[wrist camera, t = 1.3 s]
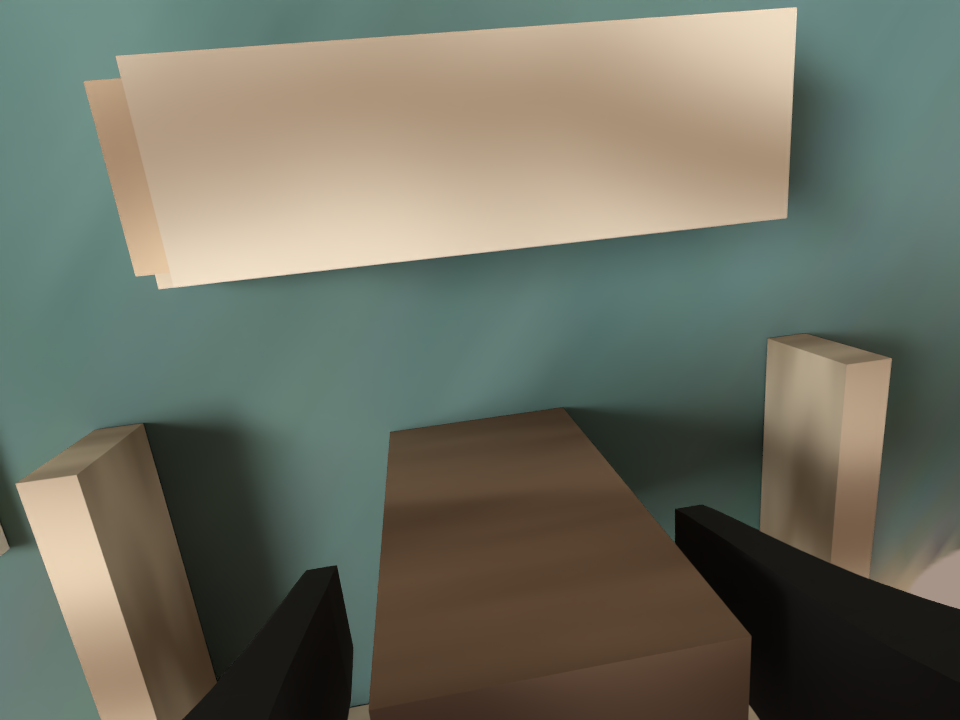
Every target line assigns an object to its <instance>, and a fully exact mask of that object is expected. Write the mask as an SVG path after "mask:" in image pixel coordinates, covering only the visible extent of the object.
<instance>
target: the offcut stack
mask: <svg viewBox="0 0 960 720" xmlns="http://www.w3.org/2000/svg"><path fill="white" fill-rule="evenodd" d="M796 18H797V7H795V8H781V9H767V10H753V11H739V12H725V13H711V14H697V15H683V16H669V17H655V18H641V19H627V20H613V21H599V22H585V23H571V24H557V25H543V26H529V27H515V28H501V29H487V30H473V31H459V32H445V33H431V34H417V35H403V36H389V37H375V38H361V39H347V40H333V41H319V42H305V43H291V44H277V45H263V46H249V47H235V48H221V49H207V50H193V51H179V52H165V53H151V54H137V55H123V56H116V59H117V63H118V67H119V71H120V75H121V78H119V79H105V80H92V81H84V85H85V89H86V93H87V96H88V100H89V104H90V108H91V111H92V115H93V119H94V122H95V126H96V130H97V134H98V137H99V141H100V145H101V149H102V152H103V156H104V160H105V164H106V167H107V171H108V175H109V178H110V182H111V186H112V190H113V193H114V197H115V201H116V205H117V208H118V212H119V216H120V219H121V223H122V227H123V231H124V234H125V238H126V242H127V246H128V249H129V253H130V257H131V260H132V264H133V268H134V272H135V275H136V276H144V275H153V274H155V277H156V280H157V284H158V288H159V289H165V288H174V287H183V286H192V285H201V284H210V283H218V282H227V281H236V280H245V279H254V278H263V277H272V276H281V275H289V274H298V273H307V272H316V271H325V270H334V269H343V268H352V267H360V266H369V265H378V264H387V263H396V262H405V261H414V260H423V259H431V258H440V257H449V256H458V255H467V254H476V253H485V252H494V251H502V250H511V249H520V248H529V247H538V246H547V245H556V244H565V243H573V242H582V241H591V240H600V239H609V238H618V237H627V236H636V235H644V234H653V233H662V232H671V231H680V230H689V229H698V228H707V227H715V226H724V225H733V224H739V223H748V222H756V221H765V220H774V219H783V218H787V208H788V186H789V165H790V144H791V123H792V102H793V81H794V60H795V39H796Z"/></svg>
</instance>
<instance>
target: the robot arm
mask: <svg viewBox="0 0 960 720" xmlns="http://www.w3.org/2000/svg"><path fill="white" fill-rule="evenodd" d="M675 544H676V545H677V547H678V548H679V549H680V550H681V551H682V553H683V554H684V555H685V556H686V557H687V559H688V560H689V561H690V562H691V564H692V565H693V566H694V567H695V568H696V570H697V571H698V572H699V573H700V574H701V576H702V577H703V578H704V579H705V580H706V582H707V583H708V584H709V585H710V587H711V588H712V589H713V590H714V591H715V593H716V594H717V595H718V596H719V597H720V599H721V600H722V601H723V602H724V604H725V605H726V606H727V607H728V608H729V610H730V611H731V612H732V613H733V614H734V616H735V617H736V618H737V619H738V620H739V622H740V623H741V624H742V625H743V627H744V628H745V629H746V630H747V631H748V633H749V634H750V635H751V662H750V688H749V705H750V707H751V708H752V710H753V711H754V712H755V714H756V715H757V717H758V718H759V719H760V720H960V609H957V608H954V607H950V606H947V605H944V604H940V603H937V602H934V601H931V600H928V599H925V598H922V597H919V596H916V595H913V594H910V593H907V592H904V591H902V590H899V589H896V588H893V587H890V586H887V585H884V584H881V583H879V582H876V581H873V580H871V579H868V578H866V577H863V576H860V575H858V574H855V573H853V572H851V571H848V570H846V569H843V568H841V567H839V566H836V565H834V564H831V563H829V562H827V561H824V560H822V559H820V558H817V557H815V556H813V555H810V554H808V553H806V552H804V551H802V550H799V549H797V548H795V547H793V546H791V545H788V544H786V543H784V542H782V541H780V540H778V539H776V538H774V537H771V536H769V535H767V534H765V533H763V532H761V531H759V530H757V529H755V528H753V527H751V526H749V525H746V524H744V523H742V522H740V521H738V520H736V519H734V518H732V517H730V516H727V515H725V514H723V513H721V512H719V511H716V510H714V509H712V508H709V507H707V506H704V505H697V506H691V507H685V508H679V509H675ZM352 668H353V644H352V639H351V634H350V629H349V624H348V619H347V614H346V609H345V604H344V599H343V594H342V589H341V584H340V579H339V574H338V569H337V565H336V566H330V567H324V568H317V569H311V570H306V571H305V573H304V574H303V575H302V576H301V578H300V579H299V580H298V582H297V583H296V584H295V585H294V587H293V588H292V589H291V591H290V592H289V593H288V595H287V596H286V597H285V599H284V600H283V602H282V603H281V604H280V606H279V607H278V608H277V609H276V611H275V612H274V613H273V615H272V616H271V617H270V619H269V620H268V621H267V623H266V624H265V625H264V626H263V628H262V629H261V630H260V631H259V633H258V634H257V635H256V637H255V638H254V639H253V640H252V642H251V643H250V644H249V645H248V647H247V648H246V649H245V650H244V652H243V653H242V654H241V655H240V656H239V658H238V659H237V660H236V661H235V662H234V663H233V665H232V666H231V667H230V668H229V669H228V670H227V672H226V673H225V674H224V675H223V676H222V677H221V678H220V680H219V681H218V682H217V683H216V684H215V685H214V687H213V688H212V689H211V690H210V691H209V692H208V693H207V694H206V695H205V696H204V697H203V699H202V700H201V701H200V702H199V703H198V704H197V705H196V706H195V707H194V708H193V709H192V710H191V711H190V712H189V713H188V714H187V715H186V716H185V717H184V718H183V719H182V720H348V715H349V708H350V702H351V687H352Z"/></svg>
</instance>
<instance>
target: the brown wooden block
mask: <svg viewBox="0 0 960 720" xmlns="http://www.w3.org/2000/svg"><path fill="white" fill-rule="evenodd" d="M750 662H751V635H750V634H749V633H748V631H747V630H746V629H745V628H744V627H743V625H742V624H741V623H740V622H739V620H738V619H737V618H736V617H735V616H734V614H733V613H732V612H731V611H730V610H729V608H728V607H727V606H726V605H725V604H724V602H723V601H722V600H721V599H720V597H719V596H718V595H717V594H716V593H715V591H714V590H713V589H712V588H711V587H710V585H709V584H708V583H707V582H706V580H705V579H704V578H703V577H702V576H701V574H700V573H699V572H698V571H697V570H696V568H695V567H694V566H693V565H692V564H691V562H690V561H689V560H688V559H687V557H686V556H685V555H684V554H683V553H682V551H681V550H680V549H679V548H678V547H677V545H676V544H675V543H674V542H673V540H672V539H671V538H670V537H669V536H668V534H667V533H666V532H665V531H664V530H663V528H662V527H661V526H660V525H659V524H658V522H657V521H656V520H655V519H654V517H653V516H652V515H651V514H650V513H649V511H648V510H647V509H646V508H645V507H644V505H643V504H642V503H641V502H640V501H639V499H638V498H637V497H636V496H635V494H634V493H633V492H632V491H631V490H630V488H629V487H628V486H627V485H626V484H625V482H624V481H623V480H622V479H621V477H620V476H619V475H618V474H617V473H616V471H615V470H614V469H613V468H612V467H611V465H610V464H609V463H608V462H607V461H606V459H605V458H604V457H603V456H602V454H601V453H600V452H599V451H598V450H597V448H596V447H595V446H594V445H593V444H592V442H591V441H590V440H589V439H588V437H587V436H586V435H585V434H584V433H583V431H582V430H581V429H580V428H579V427H578V425H577V424H576V423H575V422H574V421H573V419H572V418H571V417H570V416H569V414H568V413H567V412H566V411H565V410H564V408H563V407H561V408H554V409H548V410H541V411H534V412H527V413H520V414H513V415H506V416H499V417H492V418H485V419H478V420H471V421H464V422H457V423H450V424H443V425H436V426H429V427H422V428H415V429H408V430H401V431H394V432H390V440H389V453H388V466H387V479H386V491H385V504H384V517H383V530H382V543H381V556H380V569H379V582H378V594H377V607H376V620H375V633H374V646H373V659H372V672H371V685H370V697H369V715H370V720H748V714H749V688H750Z"/></svg>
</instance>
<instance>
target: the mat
mask: <svg viewBox="0 0 960 720" xmlns="http://www.w3.org/2000/svg"><path fill="white" fill-rule="evenodd" d="M8 549H10V548H9V546H8V543H7V540H6V538H5V535H4V532H3V530H2V527H1V524H0V556H1V555H2V554H4V553H5V552H6V551H7V550H8Z"/></svg>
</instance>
